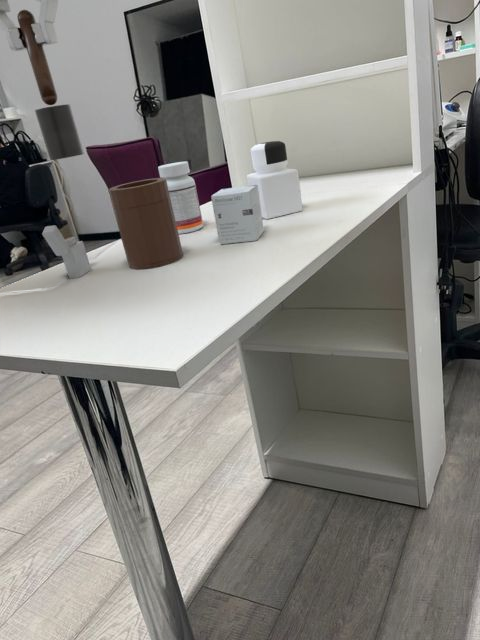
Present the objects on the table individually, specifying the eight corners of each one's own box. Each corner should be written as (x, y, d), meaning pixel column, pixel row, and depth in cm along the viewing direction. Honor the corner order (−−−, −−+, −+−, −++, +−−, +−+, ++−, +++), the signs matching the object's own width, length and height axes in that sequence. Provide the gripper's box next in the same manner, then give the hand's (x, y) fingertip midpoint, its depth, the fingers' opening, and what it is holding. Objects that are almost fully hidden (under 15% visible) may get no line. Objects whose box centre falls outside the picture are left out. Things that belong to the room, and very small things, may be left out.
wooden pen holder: (121, 272, 76) (99, 193, 72) (139, 256, 84) (120, 183, 79) (175, 265, 75) (156, 184, 71) (188, 249, 82) (172, 175, 78)
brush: (44, 161, 57) (-4, 11, 52) (59, 157, 61) (16, 15, 55) (75, 156, 57) (30, 3, 51) (89, 152, 60) (49, 8, 54)
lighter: (81, 270, 81) (64, 217, 78) (91, 268, 81) (75, 215, 78) (58, 285, 75) (39, 228, 72) (70, 284, 75) (51, 227, 72)
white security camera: (287, 206, 101) (278, 138, 96) (303, 210, 95) (294, 138, 90) (252, 214, 99) (240, 146, 94) (266, 219, 93) (254, 146, 88)
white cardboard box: (219, 245, 82) (209, 196, 79) (228, 235, 87) (219, 188, 84) (258, 240, 80) (249, 190, 77) (265, 230, 86) (257, 183, 82)
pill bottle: (174, 228, 100) (160, 164, 95) (207, 223, 99) (193, 159, 94) (166, 236, 94) (150, 169, 89) (200, 231, 93) (186, 163, 88)
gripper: (103, -144, 49) (141, 29, 55) (-89, -91, 53) (-35, 66, 59) (73, -173, 44) (119, 22, 50) (-140, -112, 48) (-74, 64, 53)
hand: (34, 46), depth 54 cm, fingers closed on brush
